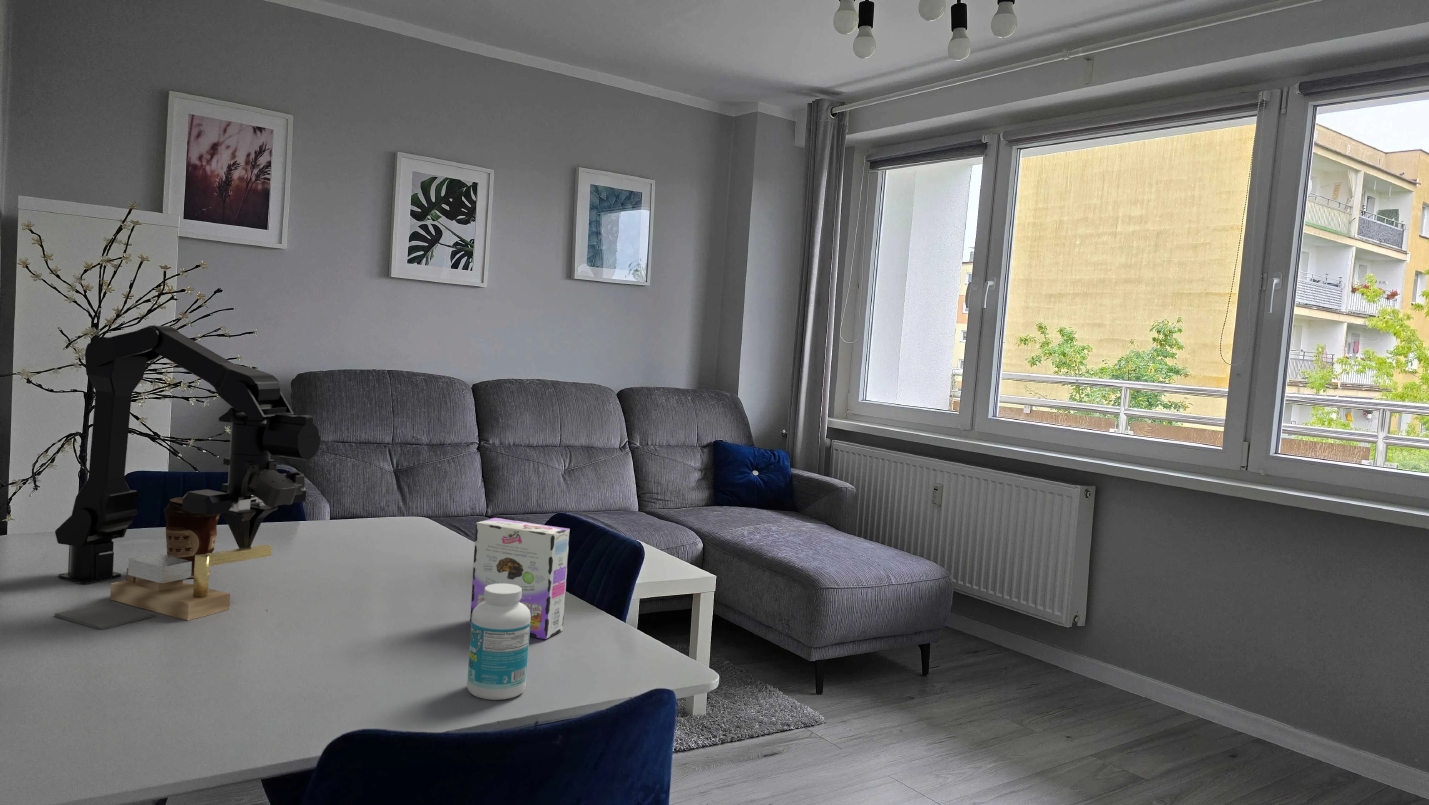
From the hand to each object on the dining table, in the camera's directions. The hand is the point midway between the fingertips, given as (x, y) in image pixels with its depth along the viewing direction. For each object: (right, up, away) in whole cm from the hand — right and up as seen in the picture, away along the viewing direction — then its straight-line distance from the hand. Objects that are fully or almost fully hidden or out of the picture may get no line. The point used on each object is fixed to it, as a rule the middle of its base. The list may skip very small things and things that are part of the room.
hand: (244, 550), depth 149 cm
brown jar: (-16, -6, +12) cm, 21 cm away
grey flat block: (-11, -3, -4) cm, 12 cm away
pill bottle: (+46, -14, -28) cm, 56 cm away
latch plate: (-9, -8, -5) cm, 13 cm away
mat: (-14, -8, -12) cm, 20 cm away
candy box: (+43, -12, -2) cm, 45 cm away
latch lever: (-1, -6, -3) cm, 6 cm away
